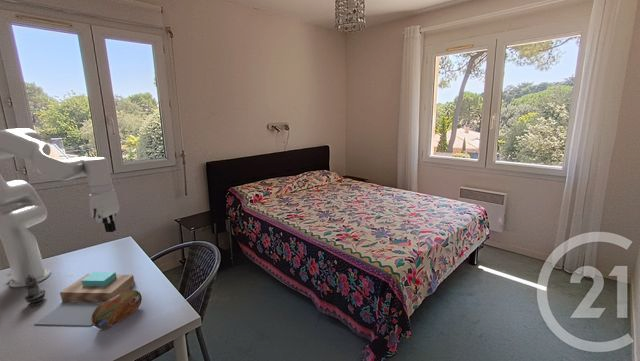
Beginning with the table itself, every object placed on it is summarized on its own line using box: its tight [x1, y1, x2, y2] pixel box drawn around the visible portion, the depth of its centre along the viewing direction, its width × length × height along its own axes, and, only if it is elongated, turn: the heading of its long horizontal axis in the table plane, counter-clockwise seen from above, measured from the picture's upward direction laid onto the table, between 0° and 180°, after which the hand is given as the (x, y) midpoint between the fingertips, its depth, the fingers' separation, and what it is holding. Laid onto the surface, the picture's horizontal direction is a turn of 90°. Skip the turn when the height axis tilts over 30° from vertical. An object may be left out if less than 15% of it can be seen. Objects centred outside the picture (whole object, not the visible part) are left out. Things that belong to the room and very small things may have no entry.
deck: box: [59, 274, 136, 303], centre depth 113 cm, size 20×12×4 cm, turn 86°
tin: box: [92, 289, 143, 330], centre depth 98 cm, size 15×3×8 cm, turn 154°
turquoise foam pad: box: [82, 271, 117, 286], centre depth 113 cm, size 9×6×2 cm, turn 86°
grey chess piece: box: [23, 275, 48, 309], centre depth 106 cm, size 6×6×12 cm
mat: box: [34, 302, 103, 327], centre depth 101 cm, size 20×11×1 cm, turn 86°
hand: (111, 231), depth 119 cm, fingers closed
